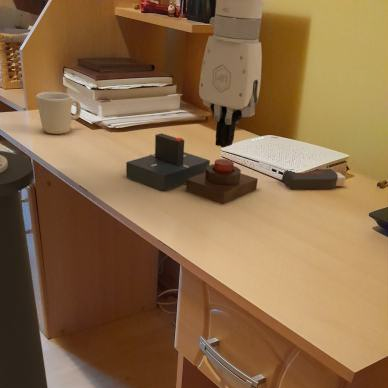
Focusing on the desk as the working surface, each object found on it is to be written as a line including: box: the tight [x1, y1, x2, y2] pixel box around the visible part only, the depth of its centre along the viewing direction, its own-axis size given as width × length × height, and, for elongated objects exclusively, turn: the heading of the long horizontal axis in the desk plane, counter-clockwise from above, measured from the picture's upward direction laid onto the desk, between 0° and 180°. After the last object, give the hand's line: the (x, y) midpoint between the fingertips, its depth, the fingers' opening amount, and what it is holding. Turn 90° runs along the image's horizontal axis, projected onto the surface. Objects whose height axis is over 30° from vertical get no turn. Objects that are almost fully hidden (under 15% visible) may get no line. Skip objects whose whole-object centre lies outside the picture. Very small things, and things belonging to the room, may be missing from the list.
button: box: [214, 158, 235, 173], centre depth 98 cm, size 4×4×2 cm
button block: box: [185, 163, 259, 205], centre depth 99 cm, size 11×9×4 cm
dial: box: [154, 132, 185, 165], centre depth 102 cm, size 6×2×5 cm, turn 51°
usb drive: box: [281, 168, 347, 191], centre depth 105 cm, size 5×12×3 cm, turn 102°
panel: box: [125, 151, 211, 192], centre depth 104 cm, size 14×10×3 cm
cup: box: [35, 91, 82, 135], centre depth 123 cm, size 11×8×8 cm
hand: (223, 144), depth 95 cm, fingers closed
